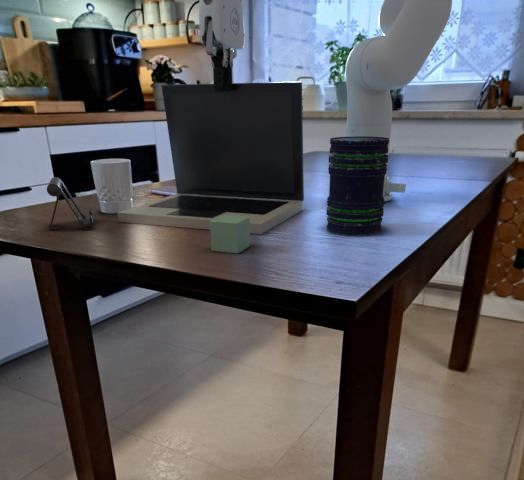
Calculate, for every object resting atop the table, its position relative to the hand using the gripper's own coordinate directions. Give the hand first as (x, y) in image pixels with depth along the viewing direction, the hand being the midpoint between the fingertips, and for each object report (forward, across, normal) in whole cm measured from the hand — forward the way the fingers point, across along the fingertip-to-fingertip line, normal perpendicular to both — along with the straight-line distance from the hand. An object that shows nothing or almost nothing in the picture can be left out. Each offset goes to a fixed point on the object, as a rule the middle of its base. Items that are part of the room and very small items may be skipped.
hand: (223, 91), depth 99 cm
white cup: (+23, -8, +22) cm, 33 cm away
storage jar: (+22, -9, -29) cm, 38 cm away
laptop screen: (+10, +3, 0) cm, 10 cm away
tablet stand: (+23, -24, +21) cm, 39 cm away
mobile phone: (+22, +14, +20) cm, 33 cm away
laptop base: (+22, -7, 0) cm, 23 cm away
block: (+22, -28, -14) cm, 38 cm away
